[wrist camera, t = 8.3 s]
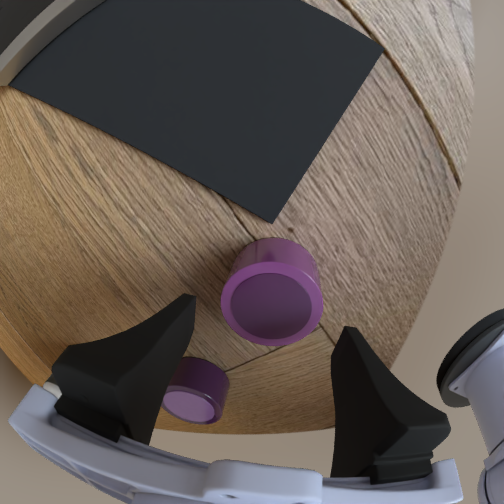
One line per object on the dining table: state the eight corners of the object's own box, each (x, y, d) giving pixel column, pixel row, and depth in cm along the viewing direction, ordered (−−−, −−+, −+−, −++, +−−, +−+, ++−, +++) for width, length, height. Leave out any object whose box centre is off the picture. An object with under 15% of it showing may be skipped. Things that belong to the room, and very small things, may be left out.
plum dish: (336, 266, 17) (344, 296, 14) (287, 326, 19) (285, 360, 16) (259, 220, 16) (251, 241, 13) (217, 288, 19) (203, 318, 16)
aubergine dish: (240, 376, 22) (234, 407, 19) (214, 404, 24) (206, 431, 21) (180, 346, 21) (167, 376, 18) (161, 378, 23) (149, 405, 21)
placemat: (382, 50, 11) (385, 48, 11) (272, 222, 16) (272, 224, 16) (52, -37, 8) (50, -38, 8) (-4, 78, 13) (-7, 78, 13)
